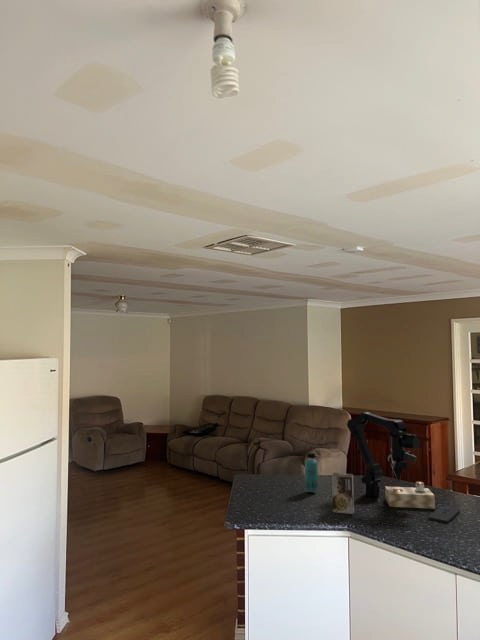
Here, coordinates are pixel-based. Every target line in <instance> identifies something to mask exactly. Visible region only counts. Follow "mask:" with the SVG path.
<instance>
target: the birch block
mask: <svg viewBox="0 0 480 640" xmlns="http://www.w3.org/2000/svg"><path fill="white" fill-rule="evenodd" d="M384 487H385V488H384V489H385V493H384V497H385V500H386V503H387V504H388V506H389V507H393V508H410V509H411V508H415V509H433V510H434V509H436V508H435V507H436V505H435V503H436V501H435V498H436V497H435V494H434V493H433V492H432V491H431V489H429V488H428V487H424V493H421V492H416V487H409V486H405V487H404V486H403V487H402V486H386V485H385V486H384ZM395 489H400V490H402V492H398V491H394V490H395Z"/></svg>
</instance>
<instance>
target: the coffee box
mask: <svg viewBox="0 0 480 640" xmlns="http://www.w3.org/2000/svg"><path fill="white" fill-rule="evenodd" d="M331 484H332V485H331V486H332V490H331V491H332V513H336V514H337V513H339V514H349V515H350V514H351V515H354V512H355V499H354V497H355V495H354V492H355V491H354V487H355V486H354V474H353V473H344V472H332V476H331Z"/></svg>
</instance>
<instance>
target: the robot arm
mask: <svg viewBox="0 0 480 640" xmlns="http://www.w3.org/2000/svg"><path fill="white" fill-rule="evenodd" d="M368 422H369V423H371V424H375V425H377V426H381V427H383V428H384V429H385V430H387V431H388V432H389V433H387V435H386V436H387V437H390V451H391V454H389V455H388V456H387V461H388V462H391V463H390V466H391V469H392V471H393V473H394V475H395V478H396V480H397V481H400V480H401V476H402V473H403V472H402V471H403V470H409V463H408V462H410V463H412V464H415V463H416V461H417V458H418V457H417V456H416V455H415V454H413V452H412V451H410V450H415V451H417V450H418V449H419V448H420V445H421V442H420V440H419V438H418V435H417V434H411V433H410V431H409V430H408V429H407V427H406V424H405V421H403V420H402V419H394V418H393V419H392V418H387V417H384V416H380V415H378V414H374V413H371V412H368V411H365V412H364V411H362V412H361V413H359V414H358V415H357V416H355V417H353V418H350V419H349V420H348V421H347V423H346V425H347V426H346V427H347V428H348V430H349V432H350V434H351V435H353V437H354V438H355V440H356V444H357V446H358V449H359V452H360V454H361V456H362V459H363V462H364V475H363V477H361V482H362V484H364V491H363V494H364V496H365V497H367V498H368V497H369V498H380V486H379V483H381V480H382V479H383V476H384V473H383V472H384V470H383V468H382V466H381V463H377V462H376V461H375V459H374V456H373V454H372V451H371V448H370V446H369V444H368V441H367V438H366V435H365V428H366V427H365V425H366V424H367V423H368ZM405 449H408V450H407V451H406V450H405Z"/></svg>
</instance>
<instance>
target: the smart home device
mask: <svg viewBox="0 0 480 640" xmlns="http://www.w3.org/2000/svg"><path fill="white" fill-rule="evenodd" d="M460 513H461V509H460V508H454V507H450V506H444V505H442V506H440V507H438V508H437V509H436V510H435V511H433V512H432V513H430V514H429V515H428V516H427V517H428V521H429V520H430V521H433V522H438V523H442V524H449V523H450V522H451V521H452V520H453V519H455V517H457V516H458V515H459V514H460Z"/></svg>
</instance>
